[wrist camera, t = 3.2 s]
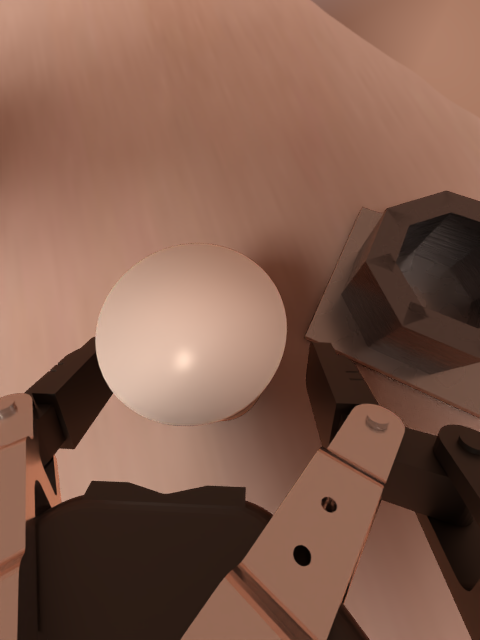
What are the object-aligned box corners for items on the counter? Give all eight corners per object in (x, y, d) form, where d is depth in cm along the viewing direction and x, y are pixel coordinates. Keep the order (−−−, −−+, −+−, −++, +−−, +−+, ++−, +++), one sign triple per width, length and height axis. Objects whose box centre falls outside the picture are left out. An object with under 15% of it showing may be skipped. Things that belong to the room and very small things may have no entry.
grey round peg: (164, 397, 17) (55, 367, 7) (205, 323, 18) (161, 219, 9) (241, 439, 16) (232, 467, 6) (278, 358, 17) (316, 284, 8)
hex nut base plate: (304, 338, 18) (321, 312, 13) (359, 211, 21) (388, 158, 17) (485, 420, 16) (572, 420, 11) (515, 267, 19) (593, 223, 15)
